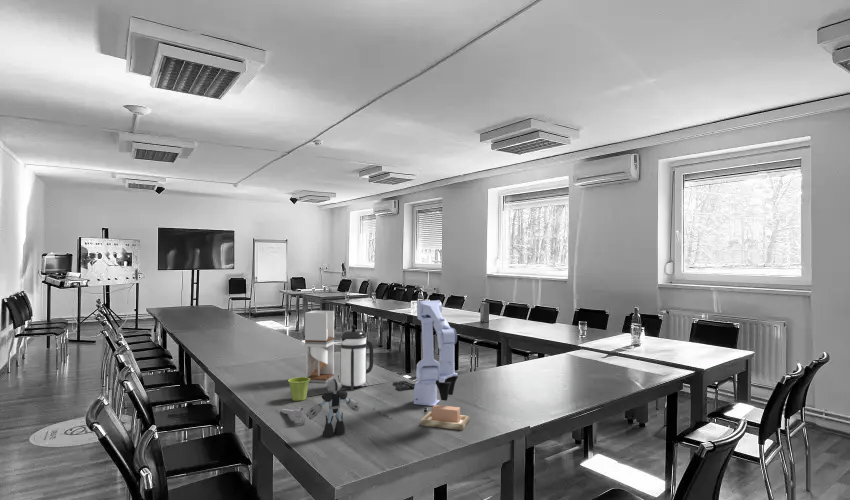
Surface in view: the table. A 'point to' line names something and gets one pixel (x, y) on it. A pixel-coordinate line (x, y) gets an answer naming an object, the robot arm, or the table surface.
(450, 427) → the wooden tray
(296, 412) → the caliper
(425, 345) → the robot arm
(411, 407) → the table surface
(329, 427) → the robot
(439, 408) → the salmon orange block
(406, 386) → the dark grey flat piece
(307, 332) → the white and brown tower
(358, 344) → the coffee press
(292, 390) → the plant pot
